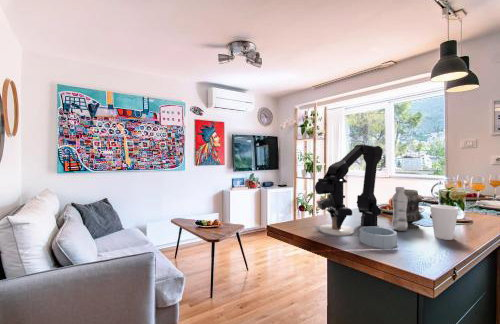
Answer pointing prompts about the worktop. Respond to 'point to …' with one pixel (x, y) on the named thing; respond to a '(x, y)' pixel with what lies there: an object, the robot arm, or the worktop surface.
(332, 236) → the mat
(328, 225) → the lid
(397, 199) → the plastic bottle
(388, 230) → the dish
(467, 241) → the worktop surface
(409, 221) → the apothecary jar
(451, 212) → the foam cup
